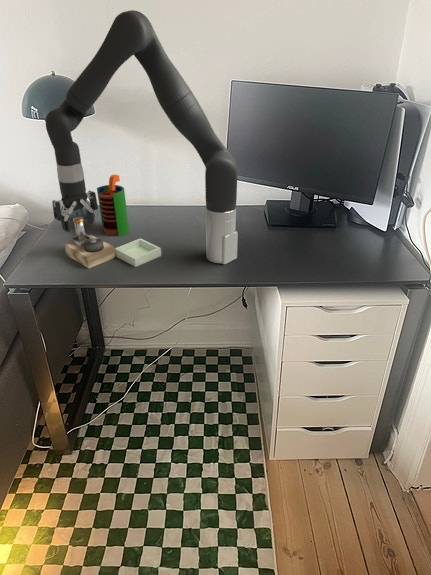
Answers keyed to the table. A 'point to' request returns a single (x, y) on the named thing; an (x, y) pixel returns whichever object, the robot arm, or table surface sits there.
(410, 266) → the table surface
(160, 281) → the table surface
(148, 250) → the tray
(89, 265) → the pulley block
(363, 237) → the table surface
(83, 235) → the pin
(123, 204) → the motor
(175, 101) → the robot arm
